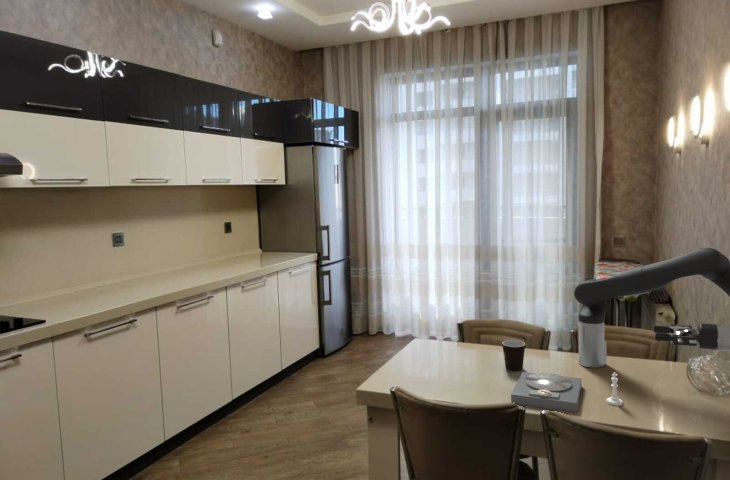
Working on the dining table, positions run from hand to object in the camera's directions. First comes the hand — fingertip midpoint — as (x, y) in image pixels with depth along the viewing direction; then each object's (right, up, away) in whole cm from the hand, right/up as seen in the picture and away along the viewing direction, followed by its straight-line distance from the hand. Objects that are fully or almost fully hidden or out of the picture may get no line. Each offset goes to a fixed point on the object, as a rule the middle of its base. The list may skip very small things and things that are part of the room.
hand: (654, 332), depth 159 cm
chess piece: (-9, -24, +7) cm, 27 cm away
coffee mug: (-30, -22, +43) cm, 57 cm away
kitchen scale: (-27, -24, +16) cm, 40 cm away
